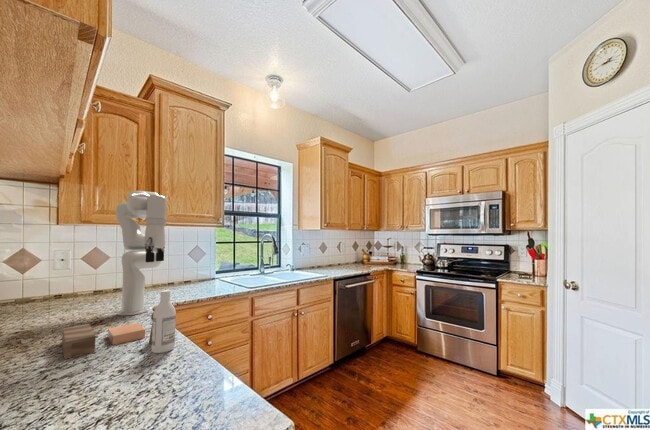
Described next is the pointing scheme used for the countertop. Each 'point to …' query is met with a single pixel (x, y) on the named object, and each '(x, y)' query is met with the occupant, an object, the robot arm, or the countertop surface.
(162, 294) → the bath foam
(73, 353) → the shelf
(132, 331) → the tile
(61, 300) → the countertop surface
